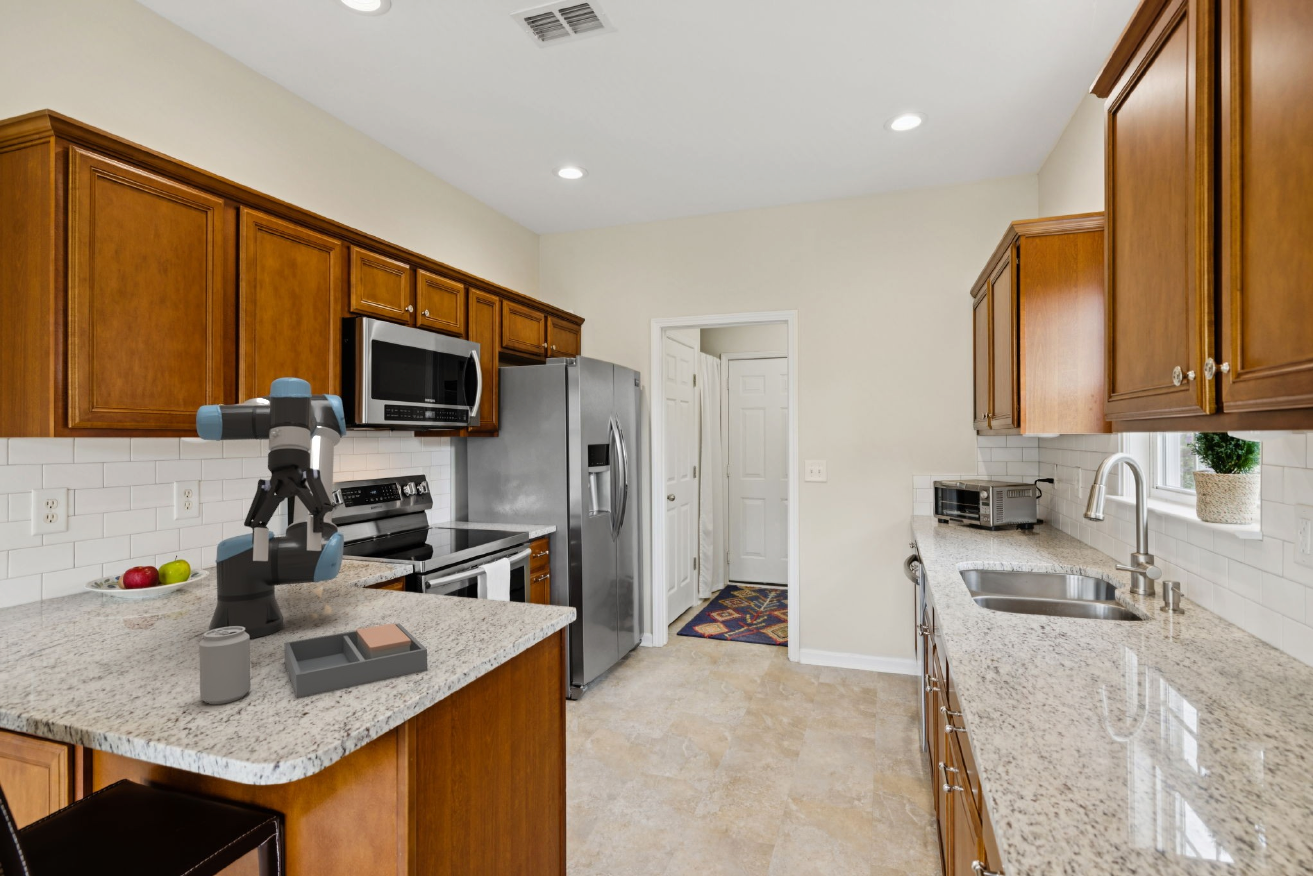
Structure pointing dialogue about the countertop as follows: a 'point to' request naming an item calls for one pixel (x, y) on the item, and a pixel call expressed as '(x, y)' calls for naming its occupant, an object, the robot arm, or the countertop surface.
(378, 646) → the two-tone square sponge
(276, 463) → the robot arm
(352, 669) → the tray
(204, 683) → the can
